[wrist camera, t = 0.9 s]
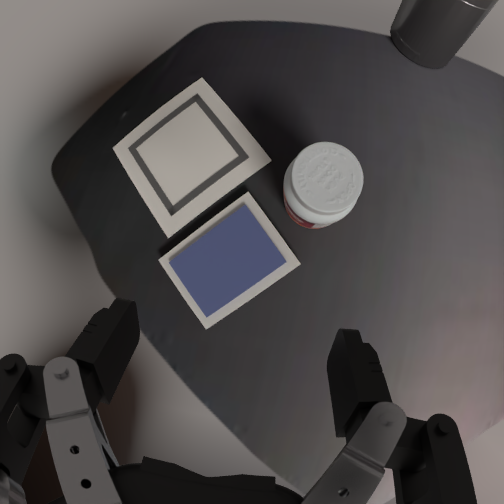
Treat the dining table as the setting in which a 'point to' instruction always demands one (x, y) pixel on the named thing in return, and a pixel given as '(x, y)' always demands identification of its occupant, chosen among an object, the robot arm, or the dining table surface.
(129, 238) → the dining table surface
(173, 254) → the ink pad
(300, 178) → the pill bottle
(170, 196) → the white flat square slab
